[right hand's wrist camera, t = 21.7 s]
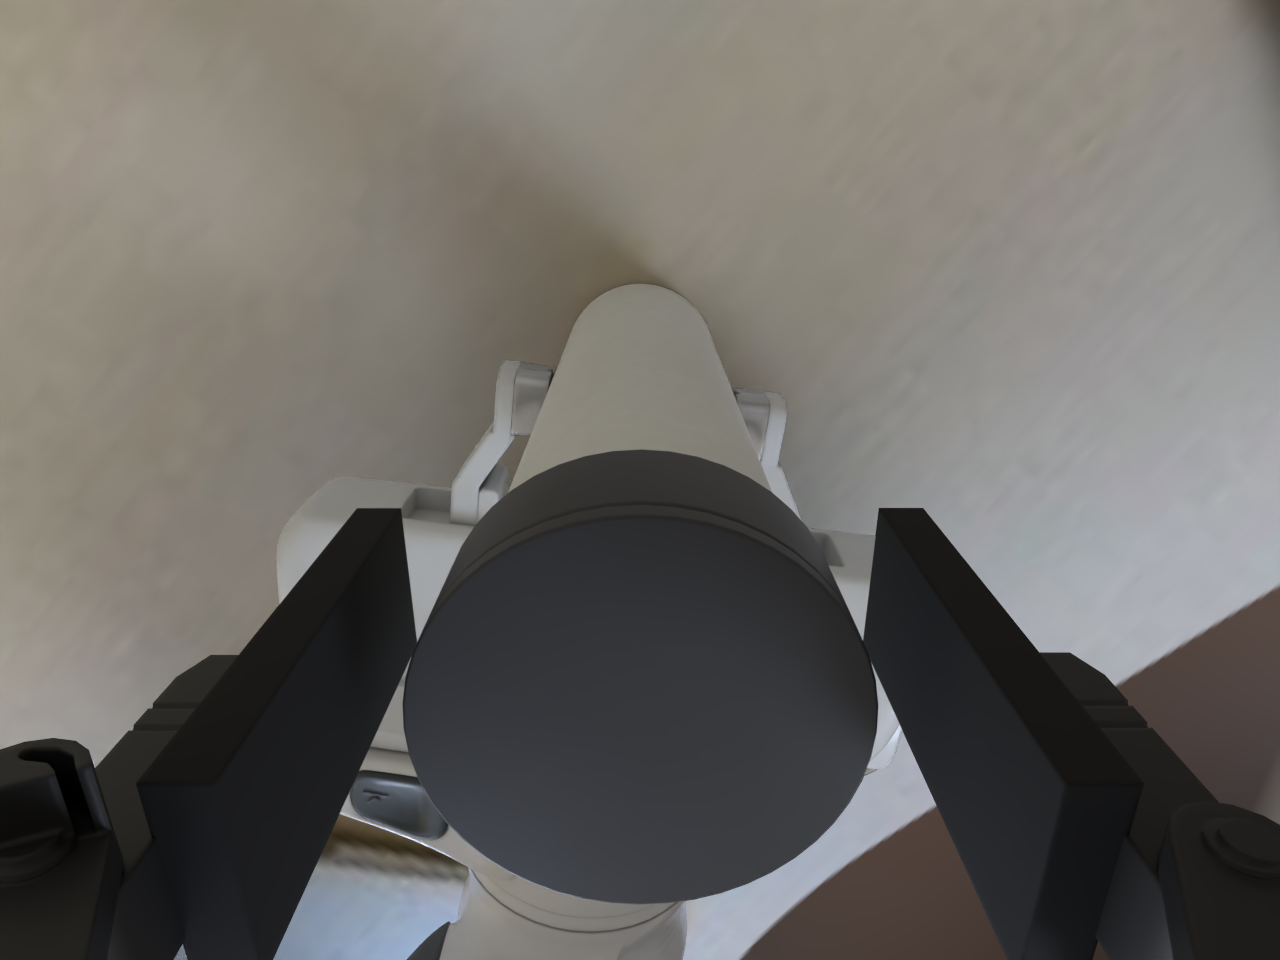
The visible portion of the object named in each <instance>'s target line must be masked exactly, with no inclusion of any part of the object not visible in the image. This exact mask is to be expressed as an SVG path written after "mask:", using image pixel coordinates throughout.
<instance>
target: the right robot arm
mask: <svg viewBox="0 0 1280 960" xmlns="http://www.w3.org/2000/svg"><path fill="white" fill-rule="evenodd" d="M863 642H864V644H865V646H866V649H867V651H868V653H869V656H870V660H871V663H872V665H873V667H874V669H875V671H876V674H877V676H878V678H879V680H880V682H881V685H882V687H883V689H884V691H885V693H886V696H887V698H888V700H889V702H890V704H891V707H892V709H893V711H894V713H895V715H896V717H897V720H898V722H899V724H900V726H901V728H902V731H903V733H904V735H905V737H906V739H907V742H908V744H909V746H910V748H911V750H912V752H913V755H914V757H915V759H916V761H917V763H918V766H919V768H920V770H921V772H922V774H923V777H924V779H925V781H926V783H927V785H928V787H929V790H930V792H931V794H932V796H933V798H934V801H935V803H936V805H937V807H938V809H939V812H940V814H941V816H942V818H943V820H944V822H945V825H946V827H947V829H948V831H949V833H950V836H951V838H952V840H953V842H954V844H955V847H956V849H957V851H958V853H959V855H960V857H961V860H962V862H963V864H964V866H965V868H966V870H967V873H968V875H969V877H970V879H971V881H972V884H973V886H974V888H975V890H976V893H977V895H978V897H979V899H980V901H981V903H982V906H983V908H984V910H985V912H986V914H987V917H988V919H989V921H990V923H991V925H992V927H993V930H994V932H995V934H996V936H997V938H998V941H999V943H1000V945H1001V947H1002V949H1003V952H1004V954H1005V956H1006V958H1007V960H1092V959H1093V956H1094V952H1095V949H1096V946H1097V942H1099V943H1100V945H1101V947H1102V948H1103V950H1104V952H1105V954H1106V955H1107V957H1108V959H1109V960H1280V825H1279V824H1277V823H1275V822H1274V821H1272V820H1270V819H1268V818H1267V817H1265V816H1263V815H1260V814H1257V813H1254V812H1251V811H1249V810H1246V809H1243V808H1240V807H1237V806H1235V805H1230V804H1223V803H1219V802H1218V801H1217V800H1216V799H1215V798H1214V796H1213V795H1212V794H1211V793H1210V792H1209V791H1208V790H1207V789H1206V787H1205V786H1204V785H1203V784H1202V783H1201V782H1200V781H1199V780H1198V779H1197V777H1196V776H1195V775H1194V774H1193V773H1192V772H1191V771H1190V770H1189V768H1188V767H1187V766H1186V765H1185V764H1184V763H1183V762H1182V761H1181V760H1180V759H1179V757H1178V756H1177V755H1176V754H1175V753H1174V752H1173V751H1172V750H1171V748H1170V747H1169V746H1168V745H1167V744H1166V743H1165V742H1164V741H1163V740H1162V738H1161V737H1160V736H1159V735H1158V734H1157V733H1156V732H1155V731H1154V729H1153V728H1148V727H1147V722H1146V720H1145V719H1144V718H1143V717H1142V716H1141V715H1140V714H1139V713H1138V712H1137V710H1136V709H1135V708H1134V707H1133V706H1128V700H1127V699H1126V698H1125V697H1124V696H1123V695H1122V694H1121V693H1120V691H1119V690H1118V689H1117V688H1116V687H1115V686H1114V685H1113V684H1112V683H1111V681H1110V680H1109V679H1108V678H1107V677H1106V676H1105V675H1104V674H1103V673H1101V672H1099V671H1098V670H1096V669H1095V668H1093V667H1092V666H1090V665H1088V664H1087V663H1085V662H1084V661H1082V660H1081V659H1079V658H1077V657H1076V656H1074V655H1073V654H1071V653H1039V652H1038V650H1037V649H1036V648H1035V647H1034V646H1033V644H1032V643H1031V642H1030V641H1029V639H1028V638H1027V637H1026V636H1025V634H1024V633H1023V632H1022V631H1021V629H1020V628H1019V627H1018V626H1017V624H1016V623H1015V622H1014V621H1013V619H1012V618H1011V617H1010V616H1009V614H1008V613H1007V612H1006V611H1005V609H1004V608H1003V607H1002V606H1001V604H1000V603H999V602H998V601H997V599H996V598H995V597H994V596H993V595H992V593H991V592H990V591H989V590H988V588H987V587H986V586H985V585H984V583H983V582H982V581H981V580H980V578H979V577H978V576H977V575H976V573H975V572H974V571H973V570H972V568H971V567H970V566H969V565H968V563H967V562H966V561H965V560H964V558H963V557H962V556H961V555H960V553H959V552H958V551H957V550H956V549H955V547H954V546H953V545H952V544H951V542H950V541H949V540H948V539H947V537H946V536H945V535H944V534H943V532H942V531H941V530H940V529H939V527H938V526H937V525H936V524H935V522H934V521H933V520H932V519H931V517H930V516H929V515H928V514H927V512H926V511H925V510H924V509H923V508H879V512H878V520H877V529H876V537H875V545H874V554H873V562H872V570H871V579H870V587H869V595H868V603H867V612H866V620H865V628H864V637H863ZM416 644H417V637H416V628H415V620H414V612H413V603H412V595H411V587H410V579H409V570H408V562H407V554H406V545H405V537H404V529H403V520H402V512H401V508H357V509H356V510H355V511H354V512H353V514H352V515H351V516H350V517H349V519H348V520H347V521H346V522H345V524H344V525H343V526H342V527H341V529H340V530H339V531H338V532H337V534H336V535H335V536H334V537H333V539H332V540H331V541H330V542H329V544H328V545H327V546H326V547H325V549H324V550H323V551H322V552H321V553H320V555H319V556H318V557H317V558H316V560H315V561H314V562H313V563H312V565H311V566H310V567H309V568H308V570H307V571H306V572H305V573H304V575H303V576H302V577H301V578H300V580H299V581H298V582H297V583H296V585H295V586H294V587H293V588H292V590H291V591H290V592H289V593H288V595H287V596H286V597H285V598H284V599H283V601H282V602H281V603H280V604H279V606H278V607H277V608H276V609H275V611H274V612H273V613H272V614H271V616H270V617H269V618H268V619H267V621H266V622H265V623H264V624H263V626H262V627H261V628H260V629H259V631H258V632H257V633H256V634H255V636H254V637H253V638H252V639H251V641H250V642H249V643H248V644H247V646H246V647H245V648H244V649H243V650H242V652H241V653H240V654H239V655H210V656H209V657H207V658H206V659H204V660H202V661H201V662H199V663H198V664H196V665H195V666H193V667H192V668H190V669H188V670H187V671H185V672H184V673H182V674H181V675H179V676H177V677H176V678H175V679H174V680H173V681H172V683H171V684H170V685H169V686H168V687H167V688H166V689H165V690H164V692H163V693H162V694H161V695H160V696H159V697H158V698H157V699H156V701H155V702H154V703H153V708H152V709H148V710H147V711H146V712H145V713H144V714H143V715H142V716H141V717H140V719H139V720H138V721H137V722H136V723H135V724H134V729H133V731H128V732H127V733H126V734H125V735H124V736H123V738H122V739H121V740H120V741H119V742H118V743H117V744H116V745H115V747H114V748H113V749H112V750H111V751H110V752H109V753H108V754H107V756H106V757H105V758H104V759H103V760H102V761H101V762H100V763H99V765H98V766H97V767H96V768H94V765H93V762H92V758H91V755H90V752H89V750H88V749H86V748H85V747H84V746H82V745H81V744H79V743H78V742H77V741H72V740H64V739H57V738H50V739H43V740H35V741H28V742H23V743H20V744H17V745H13V746H10V747H7V748H4V749H1V750H0V960H173V959H174V958H175V956H176V954H177V953H178V951H179V949H180V947H181V946H182V944H183V946H184V949H185V953H186V956H187V959H188V960H273V958H274V956H275V954H276V952H277V949H278V947H279V945H280V943H281V941H282V938H283V936H284V934H285V932H286V930H287V928H288V925H289V923H290V921H291V919H292V917H293V914H294V912H295V910H296V908H297V906H298V903H299V901H300V899H301V897H302V895H303V893H304V890H305V888H306V886H307V884H308V882H309V879H310V877H311V875H312V873H313V871H314V868H315V866H316V864H317V862H318V860H319V858H320V855H321V853H322V851H323V849H324V847H325V844H326V842H327V840H328V838H329V836H330V833H331V831H332V829H333V827H334V825H335V822H336V820H337V818H338V816H339V814H340V812H341V809H342V807H343V805H344V803H345V801H346V798H347V796H348V794H349V792H350V790H351V787H352V785H353V783H354V781H355V779H356V777H357V774H358V772H359V770H360V768H361V766H362V763H363V761H364V759H365V757H366V755H367V752H368V750H369V748H370V746H371V744H372V742H373V739H374V737H375V735H376V733H377V731H378V728H379V726H380V724H381V722H382V720H383V717H384V715H385V713H386V711H387V709H388V707H389V704H390V702H391V700H392V698H393V696H394V693H395V691H396V689H397V687H398V685H399V682H400V680H401V678H402V676H403V674H404V671H405V669H406V667H407V665H408V663H409V661H410V658H411V656H412V653H413V650H414V648H415V646H416Z"/></svg>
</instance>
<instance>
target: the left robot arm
mask: <svg viewBox="0 0 1280 960" xmlns="http://www.w3.org/2000/svg"><path fill="white" fill-rule="evenodd" d="M553 377H554V366H547V365H540V364H532V363H525V362H521V361H509V360H505V361H504V362H503V364H502V365H501V367H500V368H499V372H498V377H497V383H496V395H495V411H494V421H493V423H492V424H491V426H490V427H489V428H488V430H487V431H486V433H485V434H484V435H483V437H482V438H481V440H480V441H479V442H478V444H477V445H476V447H475V448H474V449H473V451H472V452H471V454H470V455H469V456H468V458H467V459H466V461H465V462H464V464H463V466H462V468H461V469H460V471H459V473H458V475H457V476H456V478H455V480H454V482H453V483H452V487H451V488H449V487H440V486H432V485H423V484H414V483H406V482H397V481H388V480H379V479H371V478H362V477H354V476H338V477H335V478H333V479H331V480H330V481H328V482H327V483H326V484H325V485H324V486H322V487H321V488H320V489H319V490H318V491H316V492H315V493H314V494H313V495H312V496H311V497H310V498H308V499H307V500H306V501H305V502H304V503H303V504H302V505H301V506H300V507H299V508H298V510H297V511H296V512H295V513H294V514H293V516H292V517H291V518H290V519H289V520H288V522H287V523H286V525H285V526H284V528H283V530H282V532H281V534H280V537H279V540H278V544H277V556H276V566H277V584H278V595H279V604H280V603H281V602H282V601H283V599H284V598H285V597H286V596H287V595H288V593H289V592H290V591H291V590H292V588H293V587H294V586H295V585H296V583H297V582H298V581H299V580H300V578H301V577H302V576H303V575H304V573H305V572H306V571H307V570H308V568H309V567H310V566H311V565H312V563H313V562H314V561H315V560H316V558H317V557H318V556H319V555H320V553H321V552H322V551H323V550H324V549H325V547H326V546H327V545H328V544H329V542H330V541H331V540H332V539H333V537H334V536H335V535H336V534H337V532H338V531H339V530H340V529H341V527H342V526H343V525H344V524H345V522H346V521H347V520H348V519H349V517H350V516H351V515H352V514H353V512H354V511H355V510H356V509H357V508H401V512H402V520H403V529H404V537H405V545H406V554H407V562H408V570H409V579H410V587H411V595H412V603H413V612H414V620H415V628H416V637H417V641H418V639H419V637H420V635H421V633H422V631H423V628H424V626H425V624H426V622H427V620H428V617H429V615H430V613H431V611H432V609H433V607H434V604H435V602H436V600H437V598H438V596H439V593H440V591H441V589H442V587H443V585H444V583H445V580H446V578H447V576H448V574H449V572H450V569H451V567H452V565H453V563H454V561H455V559H456V557H457V554H458V552H459V550H460V548H461V546H462V544H463V543H464V541H465V540H466V538H467V537H468V535H469V534H470V532H471V531H472V529H473V528H474V526H475V525H476V524H477V523H478V522H479V521H480V519H481V518H482V517H483V516H484V515H485V514H486V513H487V512H488V511H489V509H490V508H491V507H492V506H493V505H495V504H496V503H497V502H498V501H499V500H501V499H502V498H503V497H504V496H505V495H506V494H508V482H509V468H508V467H507V466H506V465H498V464H496V463H497V461H498V460H499V459H500V457H501V456H502V454H503V453H504V452H505V450H506V449H507V447H508V446H509V445H510V443H511V442H512V441H513V439H514V438H515V436H516V435H520V436H531V433H532V431H533V428H534V425H535V423H536V420H537V418H538V415H539V413H540V410H541V408H542V405H543V402H544V400H545V397H546V395H547V392H548V390H549V387H550V385H551V382H552V379H553ZM732 391H733V394H734V396H735V399H736V401H737V404H738V406H739V409H740V412H741V414H742V417H743V419H744V422H745V424H746V427H747V429H748V432H749V434H750V437H751V440H752V442H753V445H754V447H755V450H756V452H757V455H758V457H759V460H760V462H761V465H762V468H763V470H764V473H765V475H766V478H767V480H768V483H769V485H770V488H771V490H772V493H773V494H774V495H776V496H777V497H778V498H779V499H780V500H781V501H783V502H784V503H785V504H786V505H787V506H788V507H789V508H791V509H792V511H793V512H794V513H795V514H796V515H797V516H798V517H799V519H800V520H801V517H800V515H799V512H798V509H797V507H796V504H795V502H794V499H793V496H792V494H791V491H790V488H789V486H788V483H787V480H786V478H785V475H784V472H783V470H782V467H781V465H780V463H779V460H778V459H779V454H780V449H781V444H782V439H783V434H784V429H785V424H786V418H787V404H786V402H785V400H784V398H783V397H782V395H781V393H774V392H766V391H758V390H748V389H739V388H732ZM801 521H802V520H801ZM808 529H809V531H810V533H811V534H812V536H813V537H814V539H815V540H816V542H817V543H818V545H819V547H820V548H821V550H822V552H823V555H824V557H825V559H826V561H827V563H828V566H829V568H830V570H831V572H832V574H833V576H834V579H835V581H836V583H837V585H838V587H839V589H840V592H841V594H842V596H843V598H844V600H845V602H846V605H847V607H848V609H849V611H850V613H851V616H852V618H853V620H854V622H855V624H856V626H857V629H858V631H859V633H860V635H861V637H862V640H863V637H864V628H865V620H866V612H867V603H868V595H869V587H870V579H871V570H872V562H873V554H874V545H875V537H876V536H872V535H863V534H854V533H845V532H837V531H828V530H819V529H810V528H808ZM410 660H411V658H410ZM409 663H410V661H409ZM409 663H408V665H407V667H406V669H405V671H404V674H403V676H402V678H401V680H400V682H399V685H398V687H397V689H396V691H395V693H394V696H393V698H392V700H391V702H390V704H389V707H388V709H387V711H386V713H385V715H384V717H383V720H382V722H381V724H380V726H379V728H378V731H377V733H376V735H375V737H374V739H373V742H372V744H371V746H370V748H369V750H368V752H367V755H366V757H365V759H364V761H363V763H362V766H361V768H360V770H359V772H358V774H357V777H356V779H355V781H354V783H353V785H352V787H351V790H350V792H349V794H348V796H347V798H346V801H345V803H344V805H343V807H342V809H341V812H340V814H342V815H344V816H347V817H350V818H353V819H356V820H359V821H362V822H364V823H367V824H370V825H373V826H376V827H379V828H382V829H384V830H387V831H390V832H393V833H395V834H398V835H400V836H403V837H406V838H408V839H411V840H413V841H416V842H418V843H420V844H423V845H425V846H427V847H430V848H432V849H434V850H436V851H438V852H440V853H442V854H444V855H446V856H449V857H450V858H452V859H454V860H456V861H458V862H460V863H461V864H463V865H465V866H467V867H468V869H469V876H468V878H467V880H466V883H465V886H464V888H463V891H462V895H461V900H460V904H459V909H458V915H457V922H456V923H454V924H451V923H450V922H447V923H445V924H444V925H442V926H441V927H440V928H438V929H437V930H436V931H435V932H433V933H432V934H431V935H430V936H429V937H428V938H427V939H426V940H425V941H424V942H423V943H422V944H421V945H420V946H419V947H418V948H417V949H416V950H415V951H414V952H413V953H412V954H411V955H410V957H409V958H408V959H407V960H682V959H683V955H684V950H685V944H686V935H687V913H686V905H685V901H680V902H673V903H663V904H640V905H638V904H619V903H607V902H601V901H594V900H587V899H582V898H578V897H574V896H570V895H566V894H562V893H558V892H555V891H552V890H550V889H547V888H544V887H541V886H539V885H536V884H533V883H531V882H528V881H526V880H524V879H522V878H520V877H518V876H516V875H514V874H512V873H510V872H508V871H506V870H504V869H503V868H501V867H500V866H498V865H497V864H495V863H493V862H492V861H490V860H489V859H487V858H485V857H484V856H483V855H481V854H480V853H479V852H478V851H476V850H475V849H474V848H473V847H472V846H470V845H469V844H468V843H467V842H465V841H464V840H463V839H462V838H461V837H460V836H459V835H458V834H457V833H456V832H455V831H454V830H453V829H452V828H451V827H450V826H449V825H448V824H447V823H446V821H445V820H444V819H443V817H442V816H441V815H440V813H439V812H438V811H437V809H436V808H435V807H434V805H433V804H432V803H431V801H430V800H429V798H428V796H427V794H426V792H425V791H424V789H423V787H422V785H421V783H420V782H419V780H418V778H417V775H416V772H415V769H414V767H413V764H412V761H411V759H410V756H409V752H408V747H407V743H406V738H405V733H404V726H403V704H402V703H403V694H404V686H405V677H406V674H407V670H408V667H409ZM871 664H872V663H871ZM872 667H873V665H872ZM873 671H874V675H875V678H876V686H877V696H878V721H877V733H876V737H875V742H874V746H873V751H872V755H871V759H870V761H869V764H868V766H867V769H866V772H865V774H864V775H867V774H869V773H872V772H874V771H875V770H877V769H883V768H885V767H887V765H888V764H889V763H890V762H891V761H892V759H893V757H894V755H895V753H896V750H897V747H898V744H899V741H900V737H901V734H902V728H901V726H900V724H899V722H898V720H897V717H896V715H895V713H894V711H893V709H892V707H891V704H890V702H889V700H888V698H887V696H886V693H885V691H884V689H883V687H882V685H881V682H880V680H879V678H878V676H877V674H876V671H875V669H874V667H873Z"/></svg>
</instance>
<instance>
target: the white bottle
mask: <svg viewBox="0 0 1280 960" xmlns="http://www.w3.org/2000/svg"><path fill="white" fill-rule="evenodd" d="M641 449H643V450H657V451H671V452H676V453H681V454H686V455H691V456H697V457H700V458H703V459H706V460H709V461H712V462H715V463H718V464H721V465H724V466H727V467H729V468H731V469H733V470H735V471H737V472H739V473H741V474H743V475H745V476H747V477H749V478H751V479H752V480H754V481H756V482H757V483H759V484H760V485H762V486H763V487H765V488H766V489H768V490H769V491H771V492H772V490H771V488H770V485H769V483H768V480H767V478H766V475H765V473H764V470H763V468H762V465H761V462H760V460H759V457H758V455H757V452H756V450H755V447H754V445H753V442H752V440H751V437H750V434H749V432H748V429H747V427H746V424H745V422H744V419H743V417H742V414H741V412H740V409H739V406H738V404H737V401H736V399H735V396H734V394H733V391H732V389H731V386H730V384H729V381H728V378H727V376H726V373H725V371H724V368H723V366H722V363H721V361H720V358H719V356H718V353H717V350H716V348H715V345H714V343H713V340H712V338H711V335H710V333H709V330H708V328H707V325H706V323H705V321H704V320H703V318H702V316H701V315H700V314H699V312H698V311H697V310H696V308H695V307H694V306H693V305H692V304H691V303H690V302H688V301H687V300H686V299H685V298H683V297H682V296H680V295H679V294H677V293H675V292H673V291H671V290H669V289H666V288H664V287H660V286H656V285H651V284H630V285H624V286H620V287H617V288H614V289H612V290H609V291H607V292H605V293H603V294H602V295H600V296H598V297H597V298H596V299H595V300H593V301H592V302H591V303H590V304H589V305H588V306H587V307H586V308H585V309H584V310H583V311H582V313H581V314H580V316H579V317H578V319H577V320H576V322H575V324H574V326H573V328H572V331H571V334H570V336H569V339H568V341H567V344H566V346H565V349H564V351H563V354H562V356H561V359H560V362H559V364H558V367H557V369H556V372H555V374H554V377H553V379H552V382H551V385H550V387H549V390H548V392H547V395H546V397H545V400H544V402H543V405H542V408H541V410H540V413H539V415H538V418H537V420H536V423H535V425H534V428H533V431H532V433H531V436H530V438H529V441H528V443H527V446H526V448H525V451H524V453H523V456H522V459H521V461H520V464H519V466H518V469H517V471H516V474H515V476H514V479H513V482H512V484H511V487H510V489H509V492H510V491H511V490H513V489H514V488H516V487H517V486H519V485H521V484H522V483H524V482H525V481H527V480H528V479H530V478H532V477H533V476H535V475H537V474H539V473H542V472H544V471H546V470H548V469H550V468H552V467H555V466H557V465H559V464H562V463H565V462H568V461H571V460H575V459H578V458H581V457H584V456H589V455H594V454H600V453H605V452H611V451H623V450H641ZM509 492H508V493H509Z"/></svg>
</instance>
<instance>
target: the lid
mask: <svg viewBox="0 0 1280 960" xmlns="http://www.w3.org/2000/svg"><path fill="white" fill-rule="evenodd" d="M402 704H403V726H404V733H405V738H406V743H407V747H408V752H409V756H410V759H411V761H412V764H413V767H414V769H415V772H416V775H417V778H418V780H419V782H420V783H421V785H422V787H423V789H424V791H425V792H426V794H427V796H428V798H429V800H430V801H431V803H432V804H433V805H434V807H435V808H436V809H437V811H438V812H439V813H440V815H441V816H442V817H443V819H444V820H445V821H446V823H447V824H448V825H449V826H450V827H451V828H452V829H453V830H454V831H455V832H456V833H457V834H458V835H459V836H460V837H461V838H462V839H463V840H464V841H465V842H467V843H468V844H469V845H470V846H472V847H473V848H474V849H475V850H476V851H478V852H479V853H480V854H481V855H483V856H484V857H485V858H487V859H489V860H490V861H492V862H493V863H495V864H497V865H498V866H500V867H501V868H503V869H504V870H506V871H508V872H510V873H512V874H514V875H516V876H518V877H520V878H522V879H524V880H526V881H528V882H531V883H533V884H536V885H539V886H541V887H544V888H547V889H550V890H552V891H555V892H558V893H562V894H566V895H570V896H574V897H578V898H582V899H587V900H594V901H601V902H607V903H619V904H638V905H640V904H663V903H673V902H680V901H687V900H694V899H698V898H703V897H707V896H711V895H715V894H719V893H723V892H725V891H728V890H731V889H734V888H737V887H740V886H742V885H745V884H748V883H750V882H752V881H754V880H756V879H758V878H761V877H763V876H765V875H767V874H769V873H771V872H773V871H775V870H776V869H778V868H779V867H781V866H783V865H784V864H786V863H788V862H789V861H791V860H792V859H794V858H795V857H797V856H798V855H799V854H800V853H802V852H803V851H804V850H806V849H807V848H808V847H809V846H811V845H812V844H813V843H814V842H816V841H817V840H818V839H819V838H820V837H821V836H822V835H823V834H824V833H825V832H826V831H827V830H828V829H829V828H830V827H831V826H832V825H833V824H834V822H835V821H836V820H837V818H838V817H839V816H840V814H841V813H842V812H843V811H844V809H845V808H846V807H847V805H848V804H849V803H850V801H851V799H852V797H853V796H854V794H855V792H856V790H857V789H858V787H859V785H860V783H861V782H862V779H863V777H864V774H865V772H866V769H867V766H868V764H869V761H870V759H871V755H872V751H873V746H874V742H875V737H876V733H877V721H878V696H877V686H876V678H875V675H874V671H873V667H872V664H871V660H870V656H869V653H868V651H867V649H866V646H865V644H864V642H863V640H862V637H861V635H860V633H859V631H858V629H857V626H856V624H855V622H854V620H853V618H852V616H851V613H850V611H849V609H848V607H847V605H846V602H845V600H844V598H843V596H842V594H841V592H840V589H839V587H838V585H837V583H836V581H835V579H834V576H833V574H832V572H831V570H830V568H829V566H828V563H827V561H826V559H825V557H824V555H823V552H822V550H821V548H820V547H819V545H818V543H817V542H816V540H815V539H814V537H813V536H812V534H811V533H810V531H809V529H808V528H807V527H806V526H805V524H804V523H803V522H802V521H801V520H800V519H799V517H798V516H797V515H796V514H795V513H794V512H793V511H792V509H791V508H789V507H788V506H787V505H786V504H785V503H784V502H783V501H781V500H780V499H779V498H778V497H777V496H776V495H774V494H773V493H772V492H771V491H769V490H768V489H766V488H765V487H763V486H762V485H760V484H759V483H757V482H756V481H754V480H752V479H751V478H749V477H747V476H745V475H743V474H741V473H739V472H737V471H735V470H733V469H731V468H729V467H727V466H724V465H721V464H718V463H715V462H712V461H709V460H706V459H703V458H700V457H697V456H691V455H686V454H681V453H676V452H671V451H657V450H643V449H641V450H623V451H611V452H605V453H600V454H594V455H589V456H584V457H581V458H578V459H575V460H571V461H568V462H565V463H562V464H559V465H557V466H555V467H552V468H550V469H548V470H546V471H544V472H542V473H539V474H537V475H535V476H533V477H532V478H530V479H528V480H527V481H525V482H524V483H522V484H521V485H519V486H517V487H516V488H514V489H513V490H511V491H510V492H509V493H508V494H506V495H505V496H504V497H503V498H502V499H501V500H499V501H498V502H497V503H496V504H495V505H493V506H492V507H491V508H490V509H489V511H488V512H487V513H486V514H485V515H484V516H483V517H482V518H481V519H480V521H479V522H478V523H477V524H476V525H475V526H474V528H473V529H472V531H471V532H470V534H469V535H468V537H467V538H466V540H465V541H464V543H463V544H462V546H461V548H460V550H459V552H458V554H457V557H456V559H455V561H454V563H453V565H452V567H451V569H450V572H449V574H448V576H447V578H446V580H445V583H444V585H443V587H442V589H441V591H440V593H439V596H438V598H437V600H436V602H435V604H434V607H433V609H432V611H431V613H430V615H429V617H428V620H427V622H426V624H425V626H424V628H423V631H422V633H421V635H420V637H419V639H418V641H417V644H416V646H415V648H414V650H413V653H412V656H411V660H410V663H409V667H408V670H407V674H406V677H405V686H404V694H403V703H402Z"/></svg>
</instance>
